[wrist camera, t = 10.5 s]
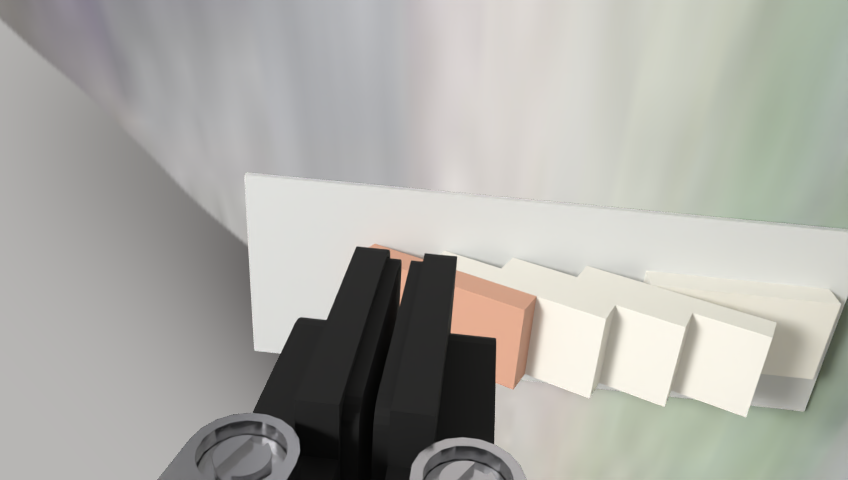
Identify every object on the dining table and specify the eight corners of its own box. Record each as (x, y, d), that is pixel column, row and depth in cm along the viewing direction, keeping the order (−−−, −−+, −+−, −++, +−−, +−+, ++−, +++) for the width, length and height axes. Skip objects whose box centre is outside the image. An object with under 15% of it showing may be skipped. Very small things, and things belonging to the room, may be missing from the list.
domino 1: (374, 243, 42) (536, 296, 38) (372, 316, 44) (524, 373, 40) (358, 254, 41) (524, 309, 36) (357, 328, 43) (513, 389, 39)
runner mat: (868, 231, 39) (871, 234, 39) (801, 407, 44) (804, 411, 44) (246, 172, 41) (244, 174, 41) (256, 346, 47) (254, 350, 46)
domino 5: (646, 270, 41) (829, 288, 40) (629, 344, 43) (802, 362, 42) (651, 284, 39) (841, 304, 39) (633, 360, 42) (812, 379, 41)
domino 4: (586, 265, 41) (776, 322, 37) (573, 338, 43) (750, 400, 39) (577, 277, 40) (772, 337, 36) (563, 352, 42) (745, 417, 38)
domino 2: (444, 250, 42) (615, 304, 37) (438, 323, 44) (598, 382, 40) (431, 261, 40) (605, 319, 36) (425, 336, 43) (589, 398, 38)
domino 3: (513, 257, 41) (692, 312, 37) (503, 330, 44) (671, 390, 39) (501, 268, 40) (685, 327, 36) (492, 343, 42) (664, 406, 38)
